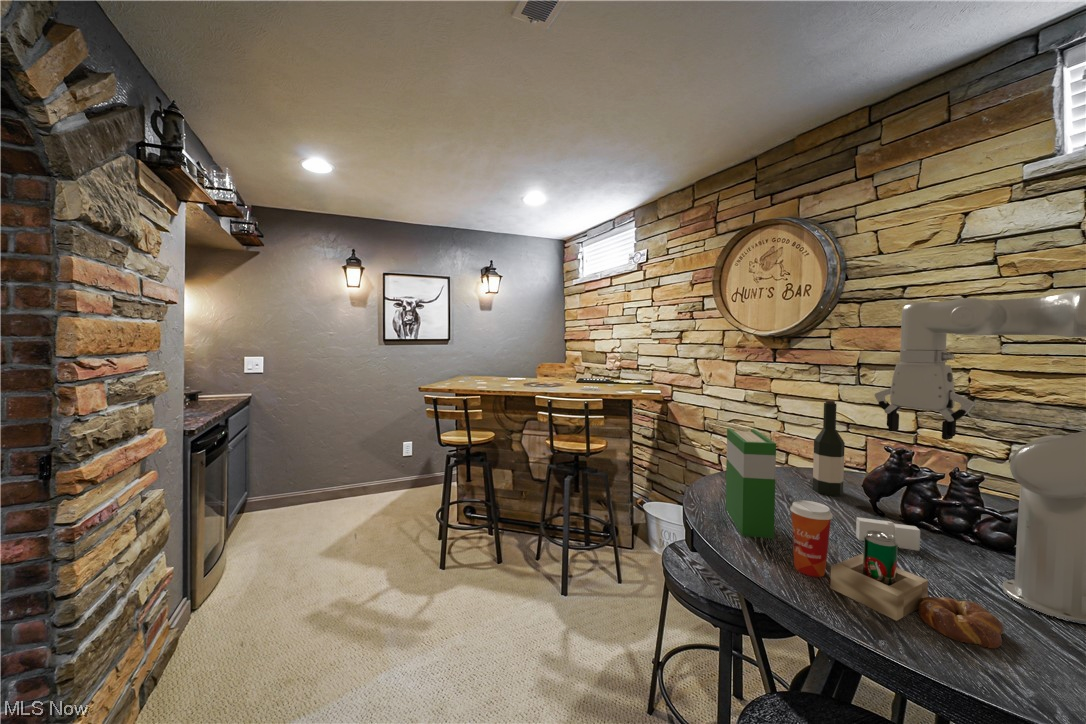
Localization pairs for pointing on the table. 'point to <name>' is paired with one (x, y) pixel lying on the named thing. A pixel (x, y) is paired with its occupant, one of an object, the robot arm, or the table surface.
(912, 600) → the holder
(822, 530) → the paper cup
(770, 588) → the table surface
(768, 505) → the hardback book
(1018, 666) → the table surface
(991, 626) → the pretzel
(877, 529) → the white stepped block
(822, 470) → the wine bottle
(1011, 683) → the table surface
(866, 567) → the soda can
